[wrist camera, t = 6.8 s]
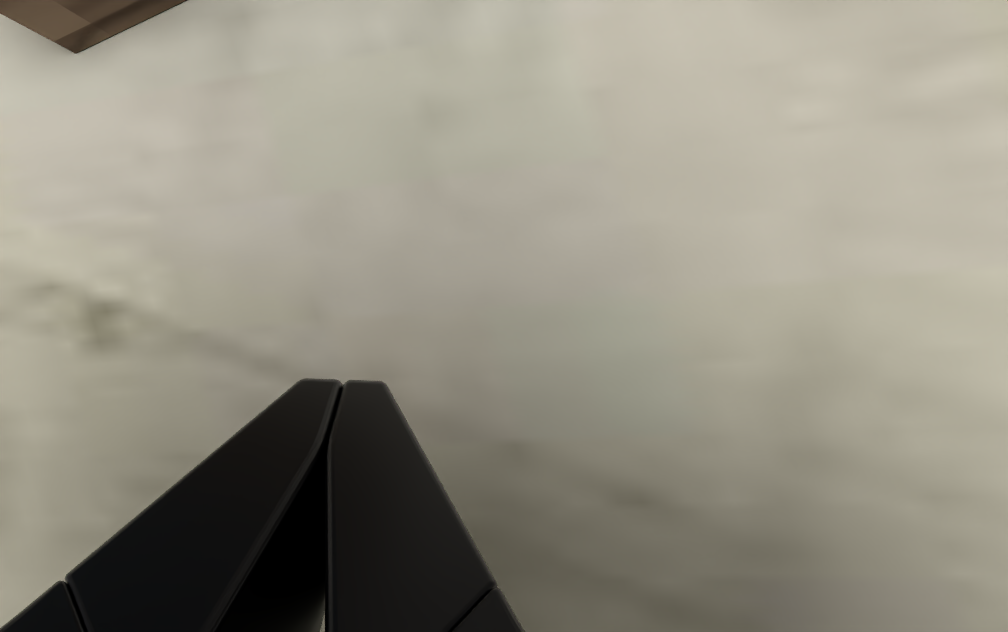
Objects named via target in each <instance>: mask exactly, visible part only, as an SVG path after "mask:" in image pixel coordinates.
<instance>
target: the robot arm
mask: <svg viewBox="0 0 1008 632" xmlns="http://www.w3.org/2000/svg"><path fill="white" fill-rule="evenodd" d="M324 611H325V632H525V631H524V629H523V628H522V626H521V625H520V623H519V621H518V620H517V618H516V616H515V614H514V612H513V611H512V609H511V607H510V605H509V603H508V602H507V600H506V598H505V596H504V594H503V593H502V591H501V590H500V589H498V588H497V583H496V581H495V579H494V577H493V575H492V574H491V572H490V570H489V568H488V566H487V565H486V563H485V561H484V559H483V557H482V556H481V554H480V552H479V550H478V548H477V547H476V545H475V543H474V541H473V539H472V538H471V536H470V534H469V532H468V530H467V529H466V527H465V525H464V523H463V521H462V520H461V518H460V516H459V514H458V512H457V511H456V509H455V507H454V505H453V503H452V502H451V500H450V498H449V496H448V494H447V493H446V491H445V489H444V487H443V485H442V484H441V482H440V480H439V478H438V476H437V475H436V473H435V471H434V469H433V467H432V466H431V464H430V462H429V460H428V458H427V457H426V455H425V453H424V451H423V449H422V448H421V446H420V444H419V442H418V440H417V439H416V437H415V435H414V433H413V431H412V430H411V428H410V426H409V424H408V422H407V421H406V419H405V417H404V415H403V413H402V412H401V410H400V408H399V406H398V404H397V403H396V401H395V399H394V397H393V395H392V394H391V392H390V390H389V388H388V387H387V385H386V384H385V383H384V382H381V381H361V380H350V381H347V382H345V384H344V385H342V383H341V382H340V381H339V380H334V379H308V378H306V379H302V380H300V381H298V382H297V383H296V384H295V385H293V386H292V387H291V388H290V389H289V390H287V391H286V392H285V393H284V394H283V395H281V396H280V397H279V398H278V399H277V400H275V401H274V402H273V403H272V404H271V405H269V406H268V407H267V408H266V409H265V410H263V411H262V412H261V413H260V414H259V415H257V416H256V417H255V418H254V419H253V420H251V421H250V422H249V423H248V424H247V425H245V426H244V427H243V428H242V429H241V430H239V431H238V432H237V433H236V434H235V435H233V436H232V437H231V438H230V439H229V440H227V441H226V442H225V443H224V444H223V445H221V446H220V447H219V448H218V449H217V450H215V451H214V452H213V453H212V454H211V455H209V456H208V457H207V458H206V459H205V460H203V461H202V462H201V463H200V464H199V465H197V466H196V467H195V468H194V469H193V470H191V471H190V472H189V473H188V474H187V475H185V476H184V477H183V478H182V479H181V480H179V481H178V482H177V483H176V484H175V485H173V486H172V487H171V488H170V489H169V490H167V491H166V492H165V493H164V494H163V495H161V496H160V497H159V498H158V499H157V500H155V501H154V502H153V503H152V504H151V505H149V506H148V507H147V508H146V509H145V510H143V511H142V512H141V513H140V514H139V515H137V516H136V517H135V518H134V519H133V520H131V521H130V522H129V523H128V524H127V525H125V526H124V527H123V528H122V529H121V530H119V531H118V532H117V533H116V534H115V535H113V536H112V537H111V538H110V539H109V540H107V541H106V542H105V543H104V544H103V545H101V546H100V547H99V548H98V549H97V550H95V551H94V552H93V553H92V554H91V555H89V556H88V557H87V558H86V559H84V560H83V561H82V562H81V563H80V564H78V565H77V566H76V567H75V568H74V569H72V570H71V571H70V572H69V573H68V574H67V575H66V577H65V582H64V581H58V582H56V583H55V584H54V585H53V586H52V587H50V588H49V589H48V590H47V591H46V592H44V593H43V594H42V595H41V596H40V597H38V598H37V599H36V600H35V601H34V602H32V603H31V604H30V605H29V606H28V607H26V608H25V609H24V610H23V611H21V612H20V613H19V614H18V615H16V616H15V617H14V618H13V619H11V620H10V621H9V622H8V623H6V624H5V625H4V626H3V627H1V628H0V632H320V628H321V624H322V620H323V615H324Z"/></svg>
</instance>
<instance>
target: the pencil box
mask: <svg viewBox="0 0 1008 632" xmlns="http://www.w3.org/2000/svg"><path fill="white" fill-rule="evenodd" d="M184 1H186V0H0V14H2V15H4V16H6V17H8V18H10V19H12V20H14V21H16V22H17V23H19V24H21V25H23V26H25V27H27V28H29V29H31V30H33V31H34V32H36V33H38V34H40V35H42V36H44V37H46V38H48V39H50V40H51V41H53V42H55V43H57V44H59V45H61V46H63V47H65V48H67V49H68V50H70V51H72V52H74V53H78V52H80V51H82V50H84V49H86V48H88V47H90V46H92V45H94V44H96V43H98V42H100V41H103V40H105V39H107V38H109V37H111V36H113V35H115V34H117V33H119V32H121V31H123V30H125V29H127V28H130V27H132V26H134V25H136V24H138V23H140V22H142V21H144V20H146V19H148V18H150V17H152V16H154V15H157V14H159V13H161V12H163V11H165V10H167V9H169V8H171V7H173V6H175V5H177V4H179V3H181V2H184Z"/></svg>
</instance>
